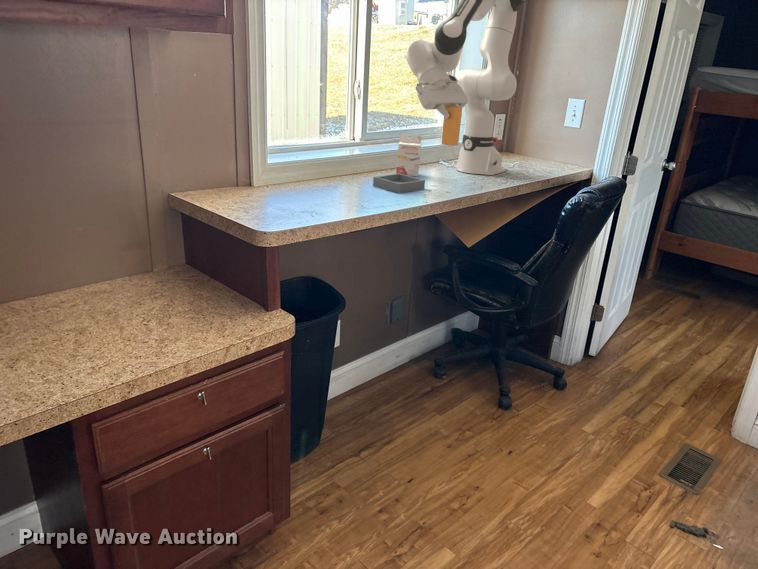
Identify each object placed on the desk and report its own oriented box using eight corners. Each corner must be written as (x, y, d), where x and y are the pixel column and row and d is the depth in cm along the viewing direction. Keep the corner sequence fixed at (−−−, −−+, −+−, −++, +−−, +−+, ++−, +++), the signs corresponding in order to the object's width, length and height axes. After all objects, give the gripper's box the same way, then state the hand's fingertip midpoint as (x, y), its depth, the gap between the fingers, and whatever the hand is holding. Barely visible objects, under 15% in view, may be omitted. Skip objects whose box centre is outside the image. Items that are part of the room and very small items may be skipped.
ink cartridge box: (395, 174, 213) (398, 135, 207) (396, 172, 218) (399, 133, 212) (418, 176, 213) (421, 136, 207) (418, 174, 217) (422, 135, 211)
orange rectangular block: (449, 143, 191) (452, 106, 186) (458, 145, 188) (462, 107, 184) (441, 144, 188) (445, 106, 184) (450, 145, 186) (454, 108, 181)
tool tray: (398, 181, 202) (399, 173, 201) (424, 188, 194) (425, 180, 192) (372, 185, 194) (373, 176, 192) (398, 193, 185) (399, 184, 184)
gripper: (419, 76, 178) (439, 112, 175) (459, 77, 191) (478, 110, 189) (407, 90, 183) (427, 124, 180) (448, 90, 196) (466, 122, 193)
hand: (454, 117), depth 184 cm, fingers closed on orange rectangular block, 4 cm apart
